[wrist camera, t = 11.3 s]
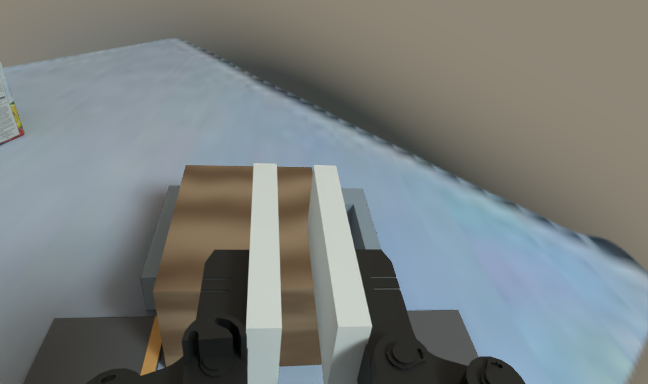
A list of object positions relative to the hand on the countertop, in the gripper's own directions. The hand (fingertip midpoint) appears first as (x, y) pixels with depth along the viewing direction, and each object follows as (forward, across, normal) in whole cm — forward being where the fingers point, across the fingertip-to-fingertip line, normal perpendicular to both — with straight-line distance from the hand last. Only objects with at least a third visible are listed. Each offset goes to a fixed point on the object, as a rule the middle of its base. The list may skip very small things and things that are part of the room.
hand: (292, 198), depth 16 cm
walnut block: (+17, -2, -24) cm, 29 cm away
